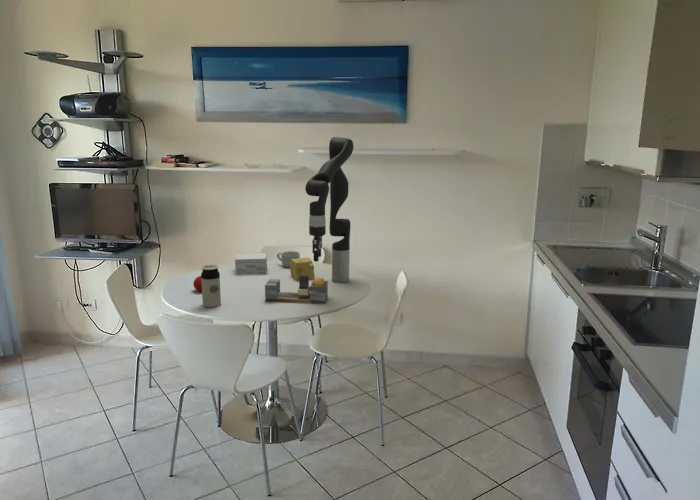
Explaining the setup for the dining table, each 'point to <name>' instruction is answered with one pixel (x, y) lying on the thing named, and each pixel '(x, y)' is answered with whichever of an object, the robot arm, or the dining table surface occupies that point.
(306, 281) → the carriage
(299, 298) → the stand
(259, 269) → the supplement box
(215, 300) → the travel mug
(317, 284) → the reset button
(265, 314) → the dining table surface
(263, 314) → the dining table surface
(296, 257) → the teacup
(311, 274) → the cheese
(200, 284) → the tomato
